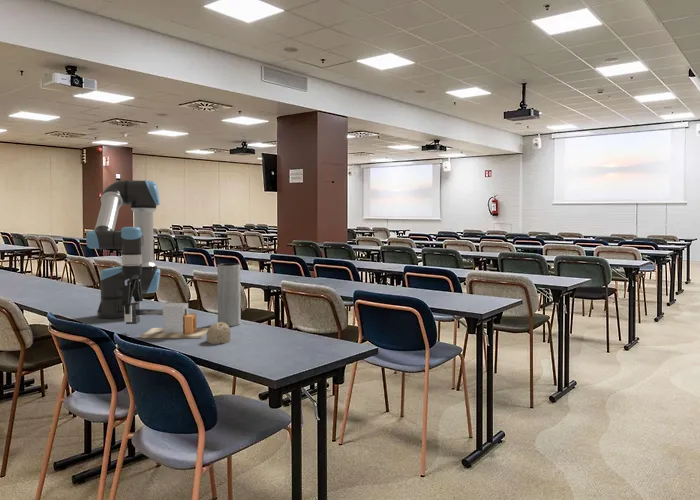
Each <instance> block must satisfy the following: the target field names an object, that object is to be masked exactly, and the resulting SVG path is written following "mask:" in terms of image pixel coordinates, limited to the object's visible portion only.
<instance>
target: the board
mask: <svg viewBox="0 0 700 500" xmlns="http://www.w3.org/2000/svg"><path fill="white" fill-rule="evenodd" d="M209 328H210V327H196V331H195V332H193V333H192V334H185V333H184V334H163V327H152V328H150V329H148V330H146V331H144V333H142V334H140V338H142V339H202V338H203V337H204V336H205V335H207V332H208V329H209Z"/></svg>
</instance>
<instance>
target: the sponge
mask: <svg viewBox="0 0 700 500" xmlns="http://www.w3.org/2000/svg"><path fill="white" fill-rule="evenodd" d="M230 327H231V326H228V325H227V324H226V323H224V322H219V323H218V322H214V323H213V324H211V325H210V326H209V327H208V328H209V329H208V332H207V333H206V342H207V343H208V344H211V345H212V344H213V345H220V343H221V344H228V343H230V342H231V330H230V329H231V328H230Z"/></svg>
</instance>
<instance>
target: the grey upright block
mask: <svg viewBox="0 0 700 500" xmlns="http://www.w3.org/2000/svg"><path fill="white" fill-rule="evenodd" d="M162 309H163V315H162V328H163V334H184V333H185V319H184V317H185V316H186V315H187V314H189V302H168V303H166V304H164V305H163V306H162Z"/></svg>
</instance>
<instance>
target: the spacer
mask: <svg viewBox="0 0 700 500" xmlns="http://www.w3.org/2000/svg"><path fill="white" fill-rule="evenodd" d="M184 319H185V334H192V333H193V332H195V331H196V328H197V312H195V313H193V312H192V313H191V312H190V313H189V312H188V314H187V315H186V316H185V317H184Z"/></svg>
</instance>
